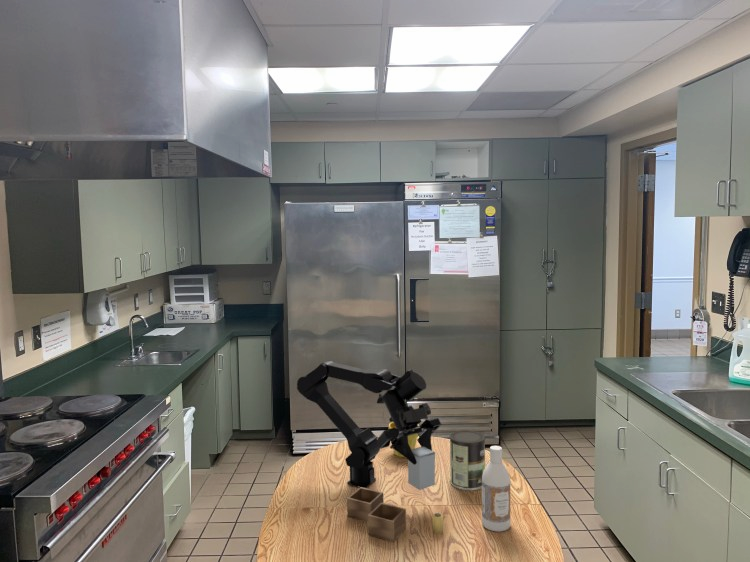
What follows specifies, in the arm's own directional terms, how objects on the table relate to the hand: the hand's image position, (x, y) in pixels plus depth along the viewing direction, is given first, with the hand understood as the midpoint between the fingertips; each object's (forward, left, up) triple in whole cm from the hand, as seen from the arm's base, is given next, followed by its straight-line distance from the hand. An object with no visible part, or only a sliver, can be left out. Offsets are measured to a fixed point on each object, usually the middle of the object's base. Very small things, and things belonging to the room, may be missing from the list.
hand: (423, 461), depth 140 cm
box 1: (-13, -9, -13) cm, 20 cm away
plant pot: (-21, +31, -13) cm, 40 cm away
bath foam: (+19, +1, -13) cm, 23 cm away
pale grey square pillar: (-1, 0, -7) cm, 7 cm away
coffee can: (+5, +20, -13) cm, 25 cm away
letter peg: (+7, -8, -13) cm, 17 cm away
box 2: (-4, -14, -13) cm, 20 cm away
